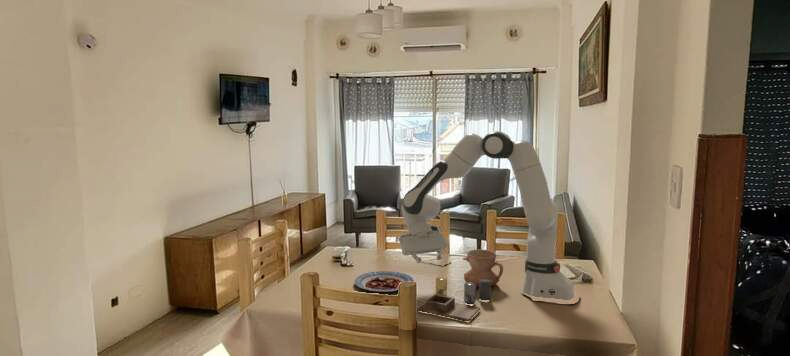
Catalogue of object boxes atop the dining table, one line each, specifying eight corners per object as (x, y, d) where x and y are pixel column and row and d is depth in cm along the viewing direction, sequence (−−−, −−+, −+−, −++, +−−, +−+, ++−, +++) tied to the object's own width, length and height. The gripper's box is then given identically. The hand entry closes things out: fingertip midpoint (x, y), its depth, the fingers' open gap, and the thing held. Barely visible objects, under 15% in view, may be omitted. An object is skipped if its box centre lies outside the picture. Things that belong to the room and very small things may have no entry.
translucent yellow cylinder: (448, 297, 195) (448, 278, 194) (444, 301, 192) (444, 281, 191) (438, 295, 197) (438, 276, 197) (433, 299, 194) (434, 279, 193)
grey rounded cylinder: (492, 300, 193) (492, 280, 192) (488, 303, 189) (488, 283, 188) (481, 298, 195) (481, 278, 194) (477, 301, 191) (477, 281, 190)
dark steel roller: (477, 303, 190) (477, 283, 189) (473, 307, 186) (473, 286, 185) (466, 301, 192) (466, 281, 191) (462, 304, 188) (462, 284, 187)
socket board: (480, 311, 181) (480, 299, 181) (468, 323, 171) (468, 310, 171) (431, 301, 191) (431, 290, 191) (417, 312, 181) (417, 300, 180)
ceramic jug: (455, 286, 209) (456, 253, 207) (469, 277, 221) (470, 246, 219) (495, 294, 199) (496, 260, 197) (508, 284, 211) (509, 252, 210)
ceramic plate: (408, 298, 196) (408, 290, 195) (346, 293, 201) (346, 286, 200) (418, 277, 221) (418, 271, 220) (363, 274, 226) (363, 267, 225)
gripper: (399, 231, 203) (409, 260, 196) (442, 226, 212) (453, 254, 204) (395, 239, 208) (404, 268, 200) (437, 234, 216) (448, 262, 208)
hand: (429, 261), depth 202 cm, fingers open, 8 cm apart
